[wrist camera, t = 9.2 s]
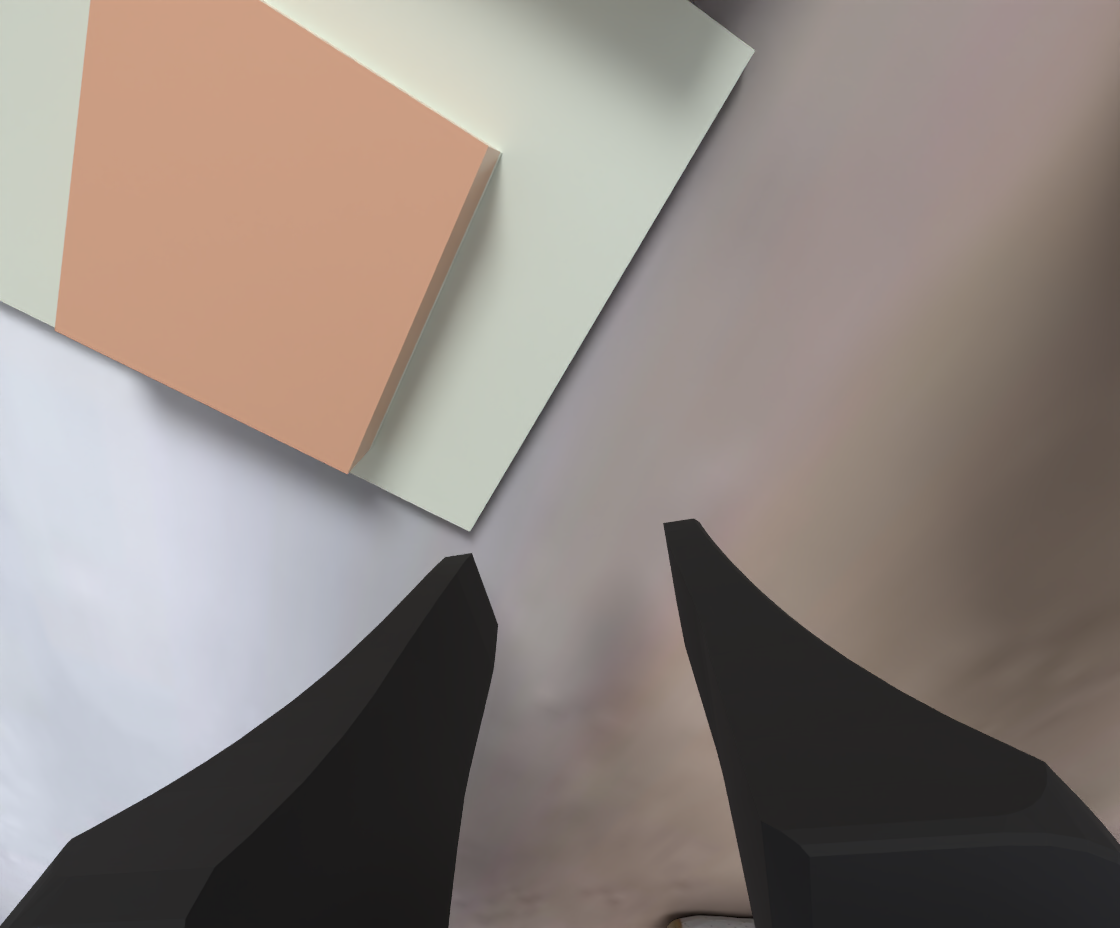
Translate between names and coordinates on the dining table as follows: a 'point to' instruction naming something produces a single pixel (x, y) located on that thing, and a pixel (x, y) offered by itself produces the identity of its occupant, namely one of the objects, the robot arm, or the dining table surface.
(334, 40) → the mat
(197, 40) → the tile
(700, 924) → the ceramic mug
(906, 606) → the dining table surface
